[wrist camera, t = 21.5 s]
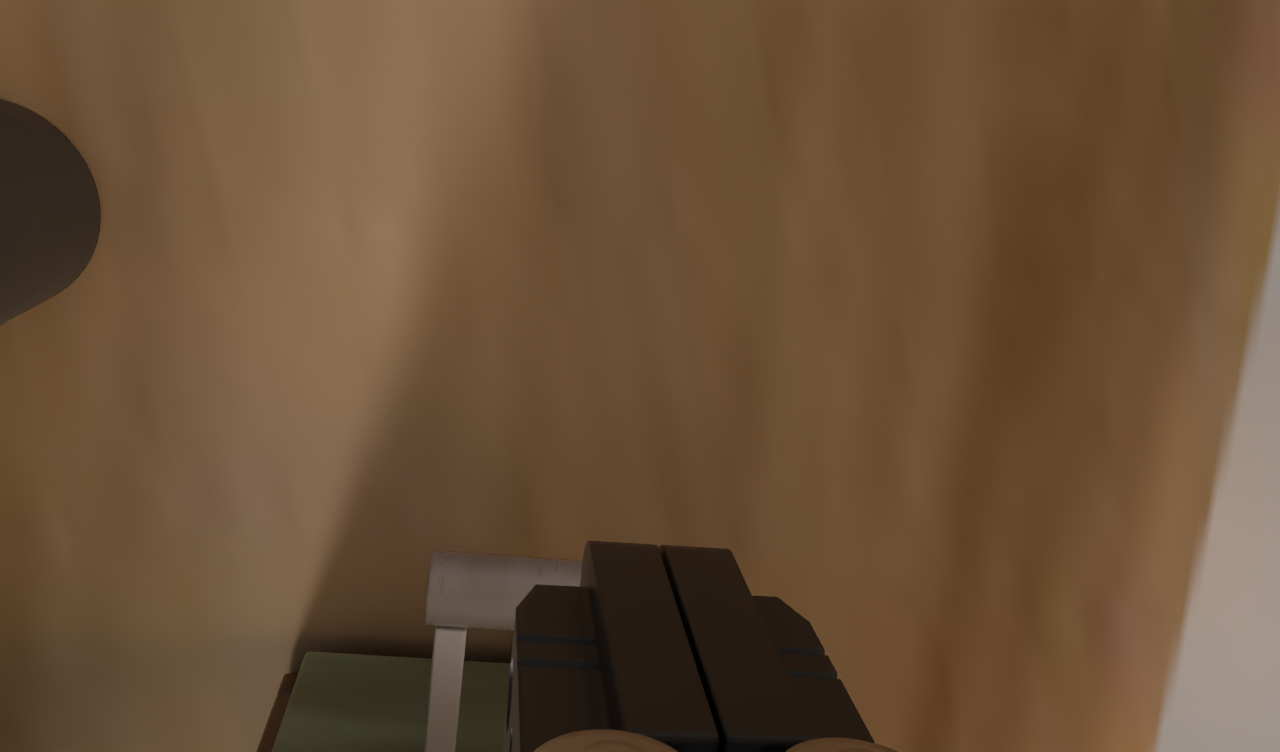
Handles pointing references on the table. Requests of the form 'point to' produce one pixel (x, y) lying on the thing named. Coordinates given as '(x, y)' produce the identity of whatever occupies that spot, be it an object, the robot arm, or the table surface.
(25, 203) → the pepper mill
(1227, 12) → the table surface
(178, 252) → the table surface
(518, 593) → the drawer
